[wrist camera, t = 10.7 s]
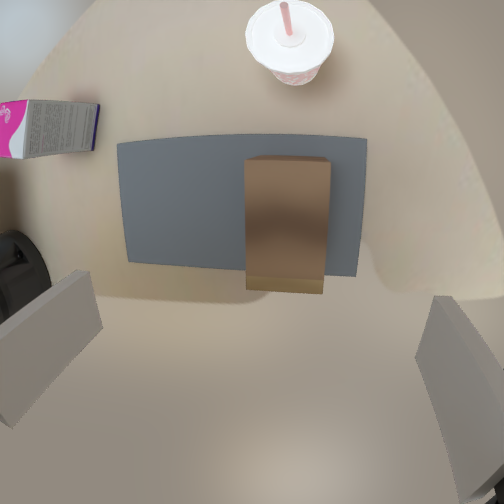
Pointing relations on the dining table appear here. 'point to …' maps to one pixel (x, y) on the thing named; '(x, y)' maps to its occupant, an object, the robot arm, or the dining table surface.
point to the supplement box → (46, 128)
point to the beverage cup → (290, 39)
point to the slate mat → (227, 197)
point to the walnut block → (286, 222)
